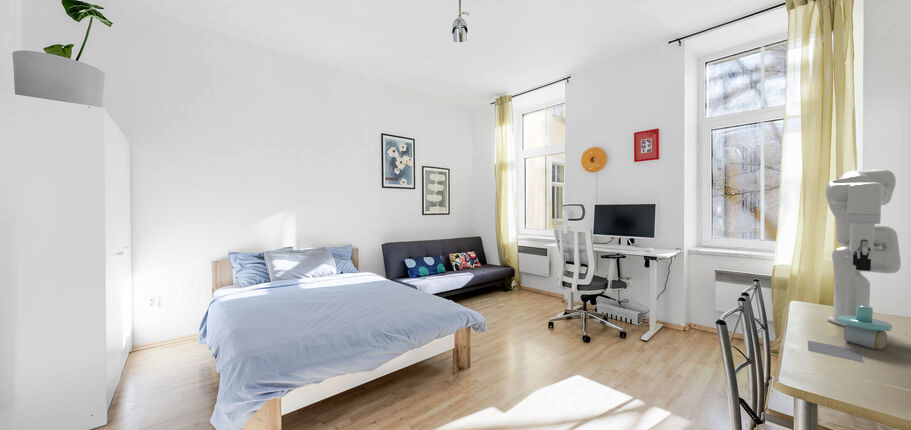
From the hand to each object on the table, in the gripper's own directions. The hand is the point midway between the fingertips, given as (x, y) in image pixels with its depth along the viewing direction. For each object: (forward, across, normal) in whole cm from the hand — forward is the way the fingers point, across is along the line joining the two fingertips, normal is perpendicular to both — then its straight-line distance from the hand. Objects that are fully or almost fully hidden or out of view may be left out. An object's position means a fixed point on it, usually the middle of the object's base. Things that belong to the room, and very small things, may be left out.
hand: (861, 267), depth 119 cm
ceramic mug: (+27, 0, +2) cm, 27 cm away
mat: (+27, +15, -6) cm, 31 cm away
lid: (+19, +1, +1) cm, 19 cm away
